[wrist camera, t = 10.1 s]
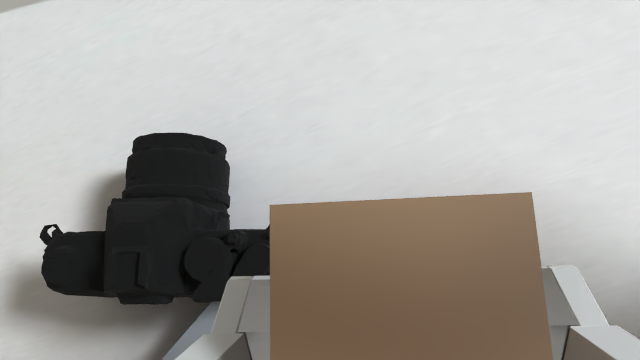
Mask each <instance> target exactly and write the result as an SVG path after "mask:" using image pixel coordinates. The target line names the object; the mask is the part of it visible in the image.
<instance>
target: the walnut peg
mask: <svg viewBox="0 0 640 360" xmlns="http://www.w3.org/2000/svg"><path fill="white" fill-rule="evenodd" d="M270 360H553V355H552V347H551V339H550V331H549V323H548V316H547V308H546V300H545V292H544V285H543V277H542V269H541V261H540V254H539V246H538V238H537V230H536V222H535V215H534V207H533V199H532V192H527V193H507V194H486V195H466V196H446V197H425V198H405V199H384V200H364V201H343V202H323V203H302V204H282V205H270Z"/></svg>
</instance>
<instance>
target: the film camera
mask: <svg viewBox="0 0 640 360" xmlns="http://www.w3.org/2000/svg"><path fill="white" fill-rule="evenodd" d="M132 152H133V154H132V155H130V156H129V157H128V160H127V168H126V188H125V190H124V191H123V192H122V199H117V198H114V199H112V202H111V205H110V206H109V207H108V210H107V219H106V231H87V232H66V233H64V234H63V232H62V231H61V230H60V229H59V227H58V226H57V224H53V225H47V226H44V228H43V230H42V231H41V234H40V238H41V240H42V241H43V242H44V243H45V244H46V245H47V247H46V249H45V250H44V251H45V253H44V255H43V263H42V271H41V273H42V275H43V277H44V279H45V281H46V284H47V287H49V288H50V289H52V290H53V291H56V292H59V293H62V294H65V295H78V296H97V297H118V298H119V300H120V303H121V304H153V305H155V304H168V303H171V302H172V301H173V298H174V297H192V299H193V301H195V302H218V301H221V300H222V296H223V293H224V290H225V287H226V284H227V281H228V280H229V279H230V278H231V277H234V276H253V277H254V276H270V224H269V226H268V228H267V229H266V230H262V229H234V230H230V220H229V217H230V215H228V212H227V209H228V208H229V207H230V196H229V195H228V188H229V175H230V166H229V164H228V162H227V161H226V160H225V155H226V153H227V149H226V147H225V146H224V145H223V144H221V143H220V142H218V141H217V140H212V139H209V138H206V137H203V136H199V135H192V134H187V133H153V134H148V135H144V136H139V137H137V138H136V139H135V140H134V141H133V148H132ZM52 226H53V227H55V228H56V229H55V230H54V231H53V232H52V237H51V236H50V235H49V234H48V233H47V230H48V229H49V228H51V227H52Z"/></svg>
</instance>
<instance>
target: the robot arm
mask: <svg viewBox="0 0 640 360" xmlns="http://www.w3.org/2000/svg"><path fill="white" fill-rule="evenodd" d="M541 269H542V277H543V285H544V292H545V300H546V308H547V316H548V323H549V331H550V339H551V347H552V355H553V360H640V340H639V339H638V338H636V337H635V336H633V335H632V334H630V333H629V332H627V331H626V330H624V329H622V328H621V327H619V326H618V325H611V326H610V325H609V323H608V322H607V320H606V318H605V316H604V314H603V313H602V311H601V309H600V307H599V306H598V304H597V302H596V300H595V298H594V297H593V295H592V293H591V291H590V289H589V288H588V286H587V284H586V282H585V281H584V279H583V277H582V275H581V273H580V272H579V270H578V268H577V267H575V266H574V265H561V266H547V267H541ZM175 360H270V276H254V277H253V276H234V277H231V278H230V279H229V280H228V281H227V284H226V287H225V290H224V293H223V296H222V300H221V303H220V306H219V309H218V312H217V315H216V318H215V321H214V324H213V327H212V330H211V334H203V335H202V336H201V337H200V338H199V339H198V340H196V341H195V342H194V343H193V344H192V345H191V346H190V347H188V348H187V349H186V350H185V351H184V352H183V353H181V354H180V355H179V356H178V357H177V358H176V359H175Z"/></svg>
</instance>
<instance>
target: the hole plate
mask: <svg viewBox="0 0 640 360" xmlns="http://www.w3.org/2000/svg"><path fill="white" fill-rule="evenodd" d="M220 303H221V301H218V302H211V303H210V304H209V305H208V307H207V308H206V309H205V310H204V311H203V312H202V313H201V315H200V316H199V317H198V318H197V319H196V320H195V322H194V323H193V324H192V325H191V326H190V327H189V328H188V330H187V331H186V332H185V333H184V334H183V335H182V337H181V338H180V339H179V340H178V341H177V342H176V343H175V345H174V346H173V347H172V348H171V349H170V350H169V352H168V353H167V354H166V355H165V356H164V357H163V358H162V360H175V359H176V358H177V357H178V356H179V355H180V354H181V353H183V352H184V351H185V350H186V349H187V348H188V347H190V346H191V345H192V344H193V343H194V342H195V341H196V340H198V339H199V338H200V337H201V336H202V335H203V334H211V330H212V327H213V324H214V321H215V318H216V315H217V312H218V309H219V306H220Z"/></svg>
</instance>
